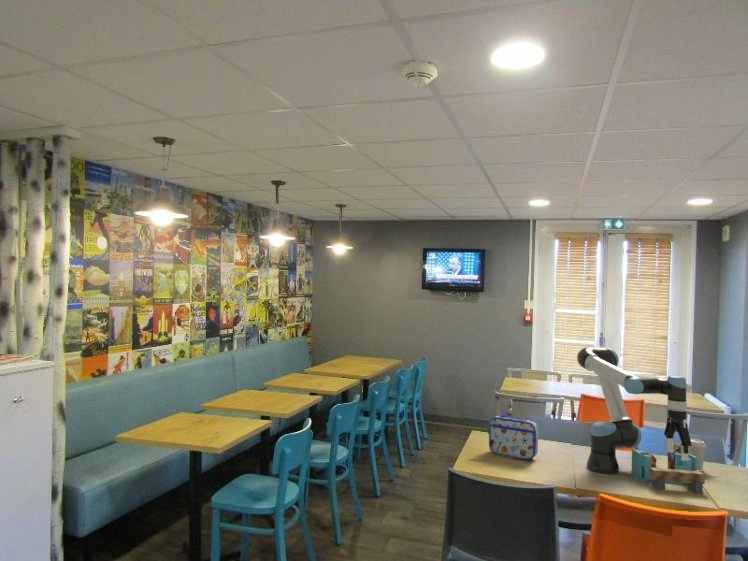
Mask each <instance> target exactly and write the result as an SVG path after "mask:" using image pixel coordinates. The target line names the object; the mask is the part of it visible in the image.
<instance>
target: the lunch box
mask: <svg viewBox="0 0 748 561" xmlns="http://www.w3.org/2000/svg"><path fill="white" fill-rule="evenodd" d="M488 422H489V423H488V426H487V427H486V431H487V434H488V447H489V450H490V452H491V453H492V454H495V455H497V456H502V457H507V458H511V459H518V460H519V459H520V460H526V461H527V460H528V461H529V460H532V459H534V458H535V457H536V456H537V454H538V450H539V449H538V448H539V426H538V424H537V423H536V422H535V421H534V420H533V421H532V420H529V419H524V418H520V417H515V416H510V415H509V414H506V413H502V414H501V415H496V416H494V417H491V418H490V420H489V421H488Z"/></svg>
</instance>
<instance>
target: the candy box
mask: <svg viewBox="0 0 748 561" xmlns="http://www.w3.org/2000/svg"><path fill="white" fill-rule="evenodd" d="M681 444H682V443H677V442H674V453H671V452H667V469H675V453H676V454H681ZM688 453H689V446H688Z"/></svg>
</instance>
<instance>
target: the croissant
mask: <svg viewBox="0 0 748 561" xmlns="http://www.w3.org/2000/svg"><path fill="white" fill-rule="evenodd" d="M644 452H645V451H644ZM645 455H650V456H652V467H651V468H656V467H655V466H656V465H657V461H658V460H657V458H656V457H655V456H654V455H653V454H651V453H649V452H645Z"/></svg>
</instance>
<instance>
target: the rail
mask: <svg viewBox="0 0 748 561" xmlns="http://www.w3.org/2000/svg"><path fill="white" fill-rule="evenodd" d="M649 477H650V478H651V479H653V480H657V478H664V479H665V481H671V482H683V483H695V481H702V482H703V485H705V484H706V483H705V482H706V480H705V477H706V476H705V473H703V472H702V471H689V470H676V469H668V468H659V467H654V468H650V474H649Z"/></svg>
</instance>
